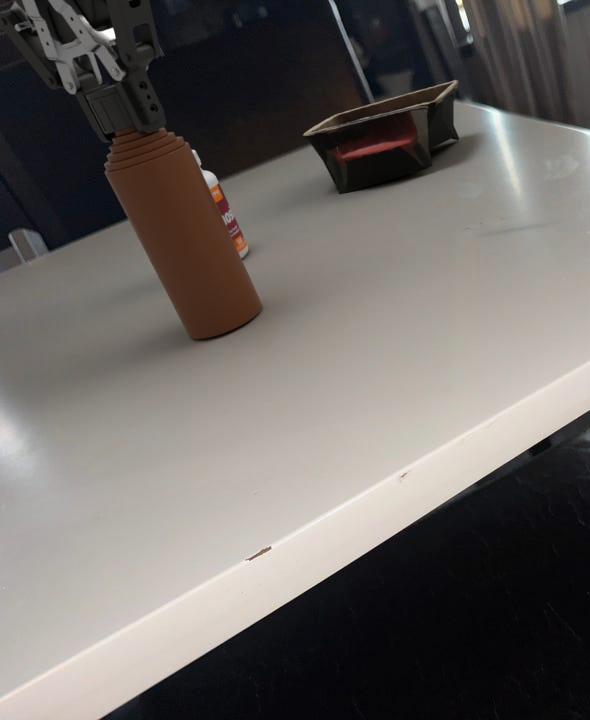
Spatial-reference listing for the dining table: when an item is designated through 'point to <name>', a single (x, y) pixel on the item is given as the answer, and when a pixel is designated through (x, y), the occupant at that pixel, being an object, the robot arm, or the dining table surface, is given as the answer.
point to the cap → (109, 109)
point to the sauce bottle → (181, 231)
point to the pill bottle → (224, 210)
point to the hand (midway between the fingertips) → (134, 133)
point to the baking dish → (385, 137)
